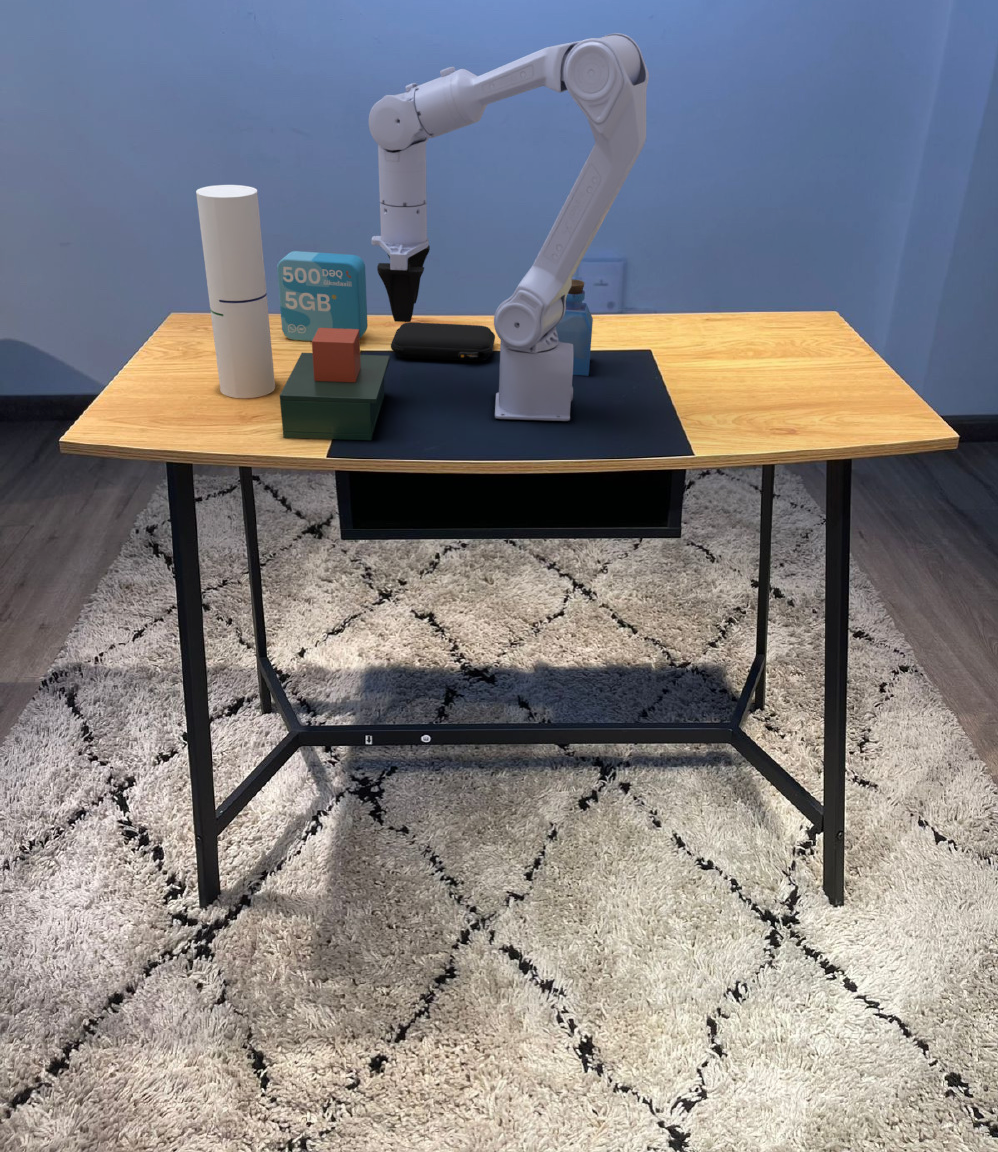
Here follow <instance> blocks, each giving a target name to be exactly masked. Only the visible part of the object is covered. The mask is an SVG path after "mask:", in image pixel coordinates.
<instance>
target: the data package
mask: <svg viewBox="0 0 998 1152" xmlns="http://www.w3.org/2000/svg"><path fill="white" fill-rule="evenodd" d="M276 273H277V275H276V276H277V286H278V288H277V289H278V298H279V300H278V301H279V312H280V321H281V330H282V333H283V335H284V336H285V337H286V338H287V339H289V340H292V341H293V340H294V341H302V342H303V341H305V342H312V340H313V338H314V336H315V334H316V332H317V330H318V328H337V329H359V337H360V339H361V338H362V337H363V336H364V334H365V333H366V332H367V330H368V304H367V303H368V302H367V301H368V300H367V279H366V264H365V261H364V260H363V259H362V257H360V256H359V255H356V254H345V253H331V252H330V253H328V252H316V251H315V252H313V251H299V250H294V251H293V250H292V251H290V252H289V253H288V254H286V255H285V256H284V257H282V259H281V260H279V261H278V263H277V266H276Z"/></svg>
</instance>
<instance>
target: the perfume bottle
mask: <svg viewBox="0 0 998 1152" xmlns="http://www.w3.org/2000/svg"><path fill="white" fill-rule="evenodd" d="M584 287H585V282H584V281H583V280H580V279H573V278H572V286H571V288H570V290H569V292H568V294H567V297H566V309H565V314H564V317H563V318H562V320H561V321H560V323H559V324H557V325H556V332H557V335H558V341H559V342H563V343H570V344H573V376H585V377H588V376H589V373H590V363H591V348H592V336H593V323H594V318H593V316H592V314H591V311H590V309H589V307H588V304H587V303H586V302H583V301H585V298H586V297H585V296H586V291H585V290H584Z"/></svg>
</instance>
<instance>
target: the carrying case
mask: <svg viewBox="0 0 998 1152" xmlns="http://www.w3.org/2000/svg"><path fill="white" fill-rule="evenodd" d="M495 341H496V334H495V333H494V332H493V331H492V329H491V328H490V327H489V326H486V325H481V324H480V325H478V324H457V323H437V322H436V323H435V322H403V323H402V324H401V325H400V326H399V327H398V328H397V329H396V331H395V333H394V336H393V338H392V340H391V342H390V348H391V350H392V352H393V353H395V355H396V356H397V357H400V358H404V359H405V358H406V359H421V360H422V359H423V360H440V361H442V360H443V361H464V362H465V361H467V362H468V361H470V362H482V361H485V360H487V359H488V358H489V357H490V356H491V355H492V354H493V352H494V346H495Z"/></svg>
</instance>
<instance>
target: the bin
mask: <svg viewBox="0 0 998 1152" xmlns="http://www.w3.org/2000/svg"><path fill="white" fill-rule="evenodd" d="M385 386H386V385H385V379H384V380H383V384H382V387H381V390H380V393H379V397H378V400H377V403H356V402H329V401H302V400H280V399H279V405H280V413H281V414H280V415H281V426H282V437H283V438H284V439H285V438H287V439H314V440H315V439H316V440H342V441H343V440H345V441H346V440H348V441H372V439H373V436H374V432H375V430H376V425H377V422H378V419H379V415H380V412H381V408H382V405H383V403H384V402H383V401H384V399H385V395H386V390H385V389H386V388H385Z"/></svg>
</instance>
